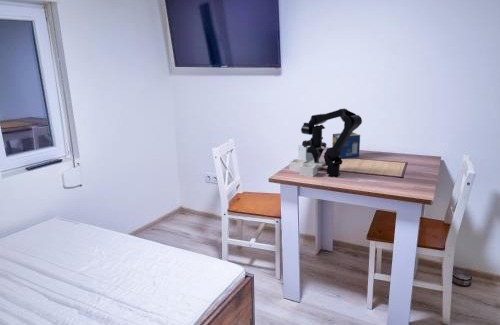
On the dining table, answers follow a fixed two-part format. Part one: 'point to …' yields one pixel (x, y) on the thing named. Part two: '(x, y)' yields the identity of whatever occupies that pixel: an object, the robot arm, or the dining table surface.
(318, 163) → the lid
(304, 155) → the small box
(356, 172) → the dining table surface
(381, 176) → the dining table surface
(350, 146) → the protein box
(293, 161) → the pot
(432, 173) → the dining table surface
